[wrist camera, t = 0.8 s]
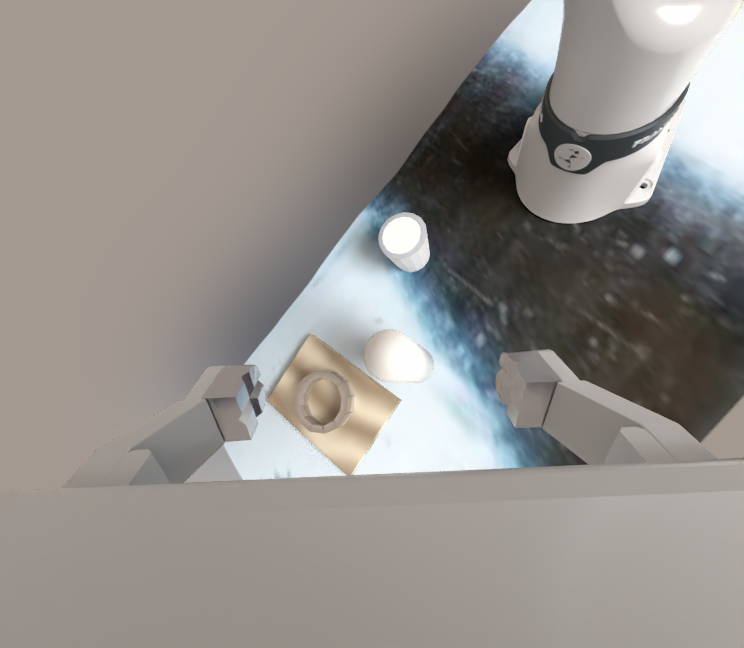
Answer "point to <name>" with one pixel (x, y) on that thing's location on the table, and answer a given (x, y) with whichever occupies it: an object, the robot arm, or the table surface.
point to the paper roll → (397, 358)
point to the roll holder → (333, 403)
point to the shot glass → (405, 241)
